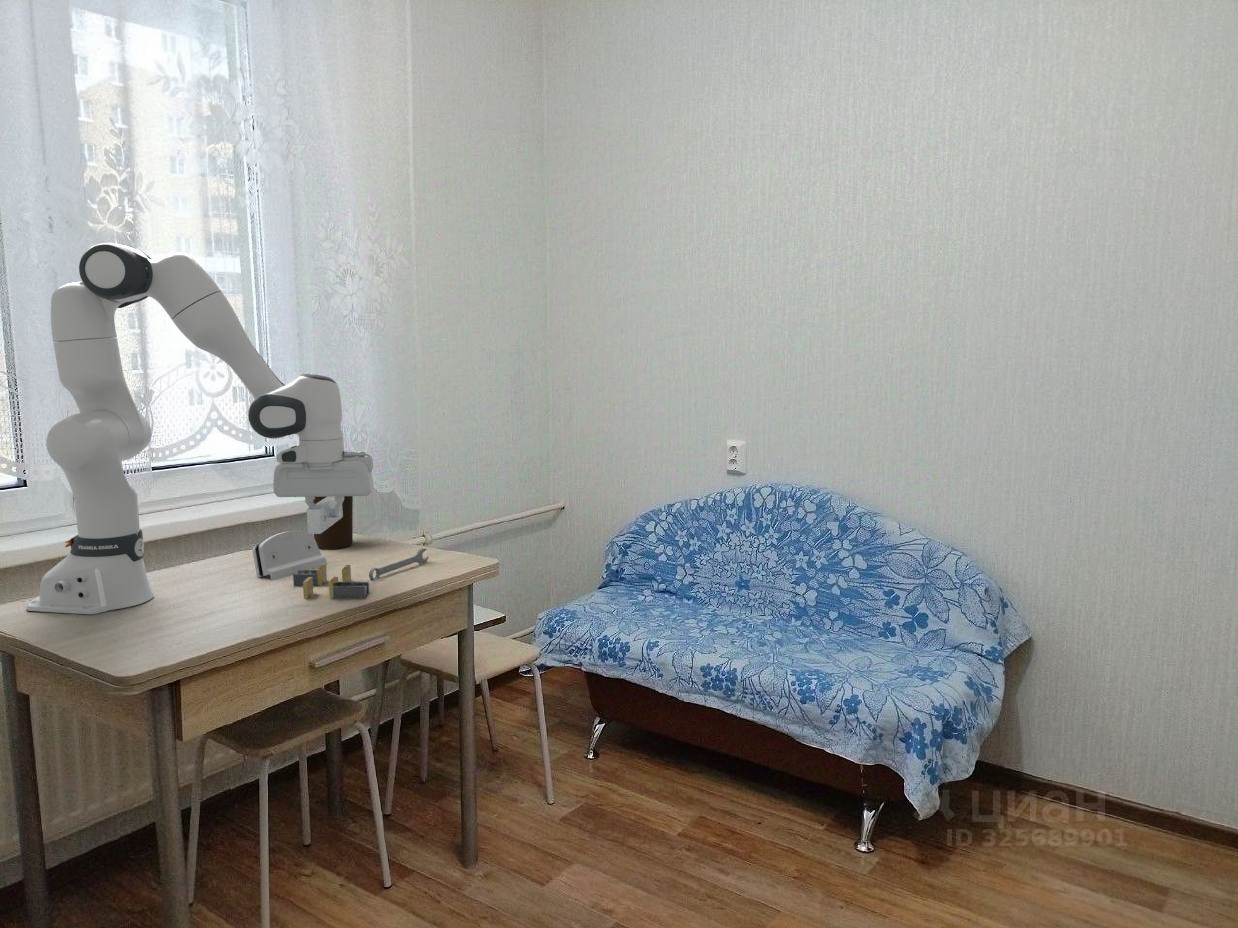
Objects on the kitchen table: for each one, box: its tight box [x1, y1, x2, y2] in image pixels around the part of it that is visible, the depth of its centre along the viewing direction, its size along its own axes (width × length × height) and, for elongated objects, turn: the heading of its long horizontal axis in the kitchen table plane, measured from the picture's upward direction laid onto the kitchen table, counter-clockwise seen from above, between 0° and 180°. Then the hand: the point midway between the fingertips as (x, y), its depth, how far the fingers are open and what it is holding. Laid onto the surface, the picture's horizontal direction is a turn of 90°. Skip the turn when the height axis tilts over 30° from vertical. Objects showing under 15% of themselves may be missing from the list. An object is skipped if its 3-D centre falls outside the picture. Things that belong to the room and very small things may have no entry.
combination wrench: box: [368, 548, 429, 581], centre depth 217 cm, size 4×1×20 cm
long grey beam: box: [306, 496, 343, 535], centre depth 199 cm, size 3×17×5 cm, turn 1°
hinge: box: [252, 530, 328, 581], centre depth 217 cm, size 17×5×10 cm, turn 151°
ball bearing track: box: [292, 564, 370, 599], centre depth 201 cm, size 18×14×4 cm
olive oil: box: [313, 496, 354, 550], centre depth 240 cm, size 11×11×25 cm
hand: (325, 517), depth 199 cm, fingers closed on long grey beam, 2 cm apart
